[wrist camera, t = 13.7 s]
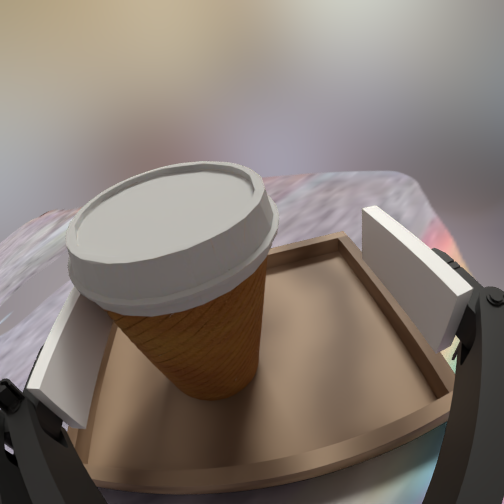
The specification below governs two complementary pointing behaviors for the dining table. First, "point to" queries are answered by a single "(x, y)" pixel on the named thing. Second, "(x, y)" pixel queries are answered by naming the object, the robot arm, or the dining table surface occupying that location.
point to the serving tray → (275, 389)
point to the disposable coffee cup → (181, 269)
